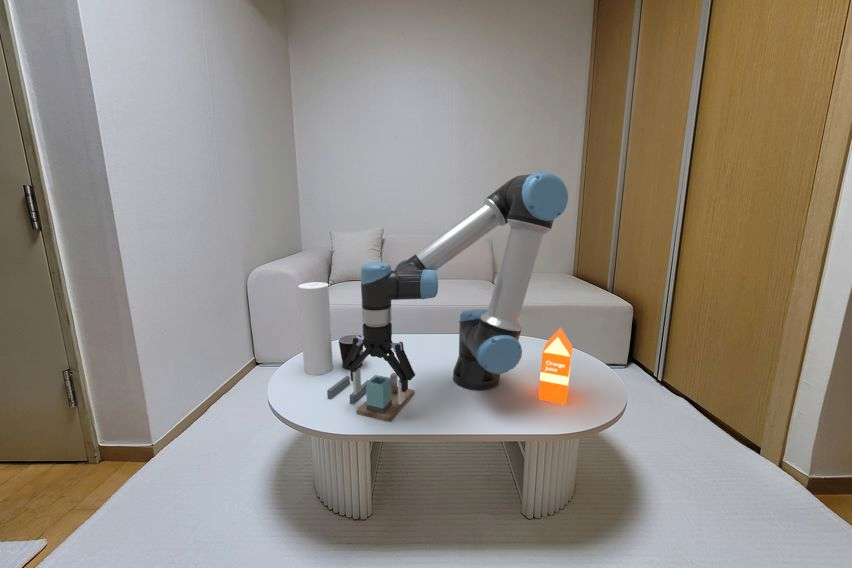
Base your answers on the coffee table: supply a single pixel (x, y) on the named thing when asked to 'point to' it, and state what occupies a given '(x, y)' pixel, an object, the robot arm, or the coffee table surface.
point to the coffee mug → (349, 348)
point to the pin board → (393, 408)
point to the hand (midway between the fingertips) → (379, 397)
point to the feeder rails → (342, 384)
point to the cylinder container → (315, 327)
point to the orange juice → (555, 368)
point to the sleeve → (379, 394)
